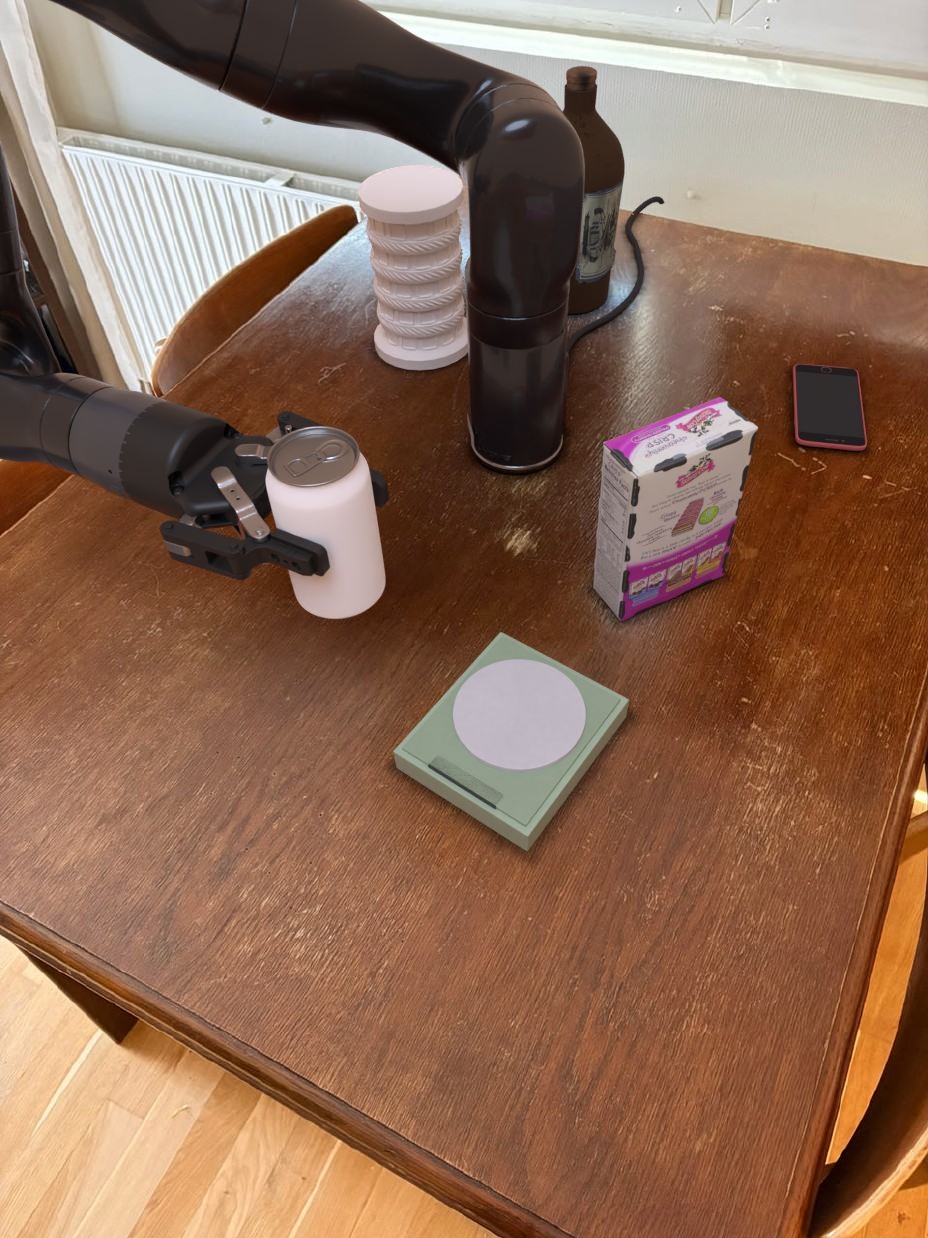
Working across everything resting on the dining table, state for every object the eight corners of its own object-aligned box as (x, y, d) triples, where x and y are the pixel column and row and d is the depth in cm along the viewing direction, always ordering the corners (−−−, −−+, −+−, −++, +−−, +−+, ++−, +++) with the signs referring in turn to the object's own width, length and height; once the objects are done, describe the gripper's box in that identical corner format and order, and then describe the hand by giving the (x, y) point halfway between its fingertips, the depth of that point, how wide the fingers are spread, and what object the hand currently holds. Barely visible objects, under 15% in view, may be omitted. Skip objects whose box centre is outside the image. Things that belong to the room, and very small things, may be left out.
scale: (500, 649, 75) (500, 624, 73) (626, 717, 70) (630, 693, 68) (395, 768, 68) (391, 745, 66) (527, 852, 63) (527, 831, 61)
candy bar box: (690, 543, 82) (721, 392, 70) (724, 577, 79) (763, 426, 67) (587, 587, 79) (600, 438, 67) (618, 624, 76) (639, 476, 64)
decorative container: (355, 342, 106) (331, 189, 93) (429, 305, 111) (416, 153, 98) (418, 382, 101) (403, 225, 87) (493, 341, 105) (489, 185, 92)
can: (404, 593, 63) (387, 459, 54) (325, 637, 60) (292, 506, 51) (355, 542, 66) (331, 408, 57) (278, 582, 64) (240, 449, 55)
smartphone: (859, 367, 98) (868, 448, 89) (857, 372, 98) (867, 452, 89) (792, 362, 99) (795, 441, 90) (791, 366, 99) (794, 445, 90)
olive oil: (509, 296, 112) (508, 73, 93) (566, 264, 116) (576, 45, 97) (573, 328, 106) (587, 98, 87) (630, 293, 111) (655, 67, 92)
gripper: (61, 473, 56) (279, 558, 50) (207, 353, 64) (409, 415, 58) (103, 557, 62) (302, 642, 56) (232, 437, 70) (417, 501, 64)
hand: (356, 526), depth 57 cm, fingers closed on can, 6 cm apart
